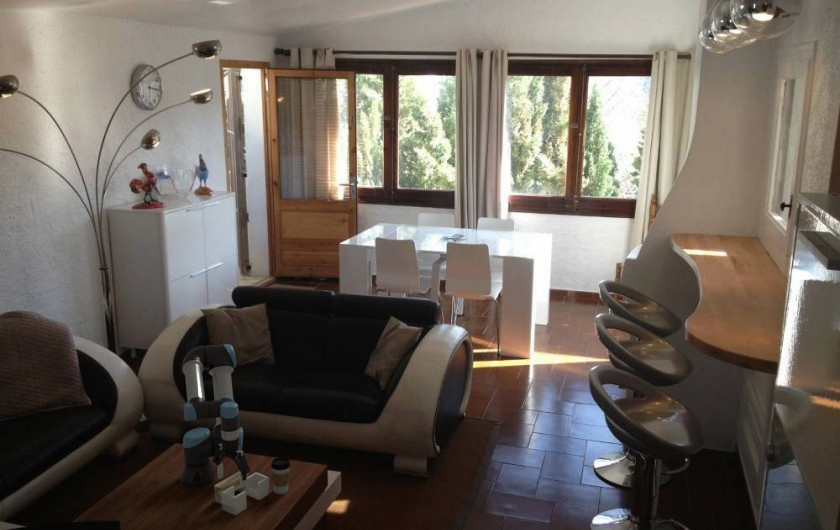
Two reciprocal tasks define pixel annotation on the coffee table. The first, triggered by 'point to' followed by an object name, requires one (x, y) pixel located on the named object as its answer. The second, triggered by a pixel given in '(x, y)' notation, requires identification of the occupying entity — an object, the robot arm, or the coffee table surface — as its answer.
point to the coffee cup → (280, 474)
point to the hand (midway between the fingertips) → (231, 482)
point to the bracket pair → (245, 493)
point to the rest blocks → (221, 499)
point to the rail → (228, 484)
